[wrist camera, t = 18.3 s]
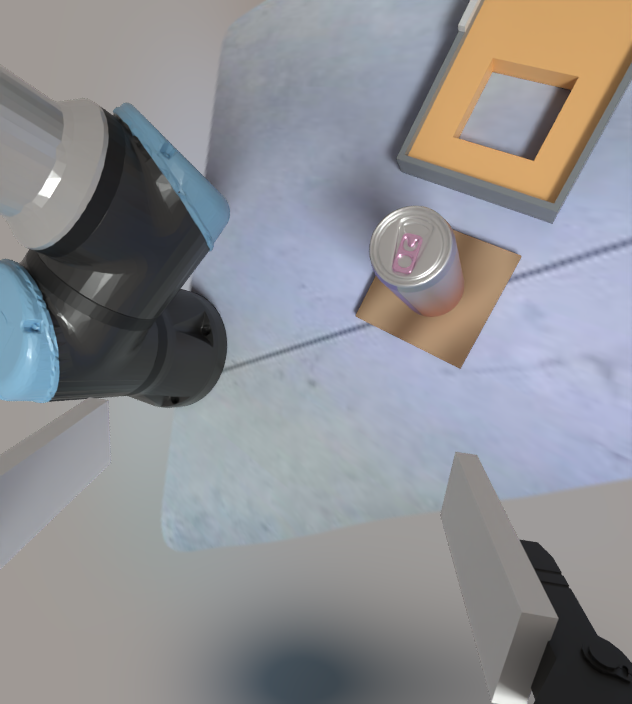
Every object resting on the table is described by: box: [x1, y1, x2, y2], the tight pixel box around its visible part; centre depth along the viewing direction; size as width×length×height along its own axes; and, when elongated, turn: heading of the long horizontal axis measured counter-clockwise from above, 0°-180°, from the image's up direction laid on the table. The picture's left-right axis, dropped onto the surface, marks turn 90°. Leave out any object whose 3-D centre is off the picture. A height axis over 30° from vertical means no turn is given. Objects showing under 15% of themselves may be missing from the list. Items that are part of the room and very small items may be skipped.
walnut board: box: [356, 230, 521, 369], centre depth 43 cm, size 12×12×1 cm
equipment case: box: [396, 0, 632, 224], centre depth 34 cm, size 16×21×17 cm
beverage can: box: [369, 206, 464, 317], centre depth 36 cm, size 6×6×15 cm
